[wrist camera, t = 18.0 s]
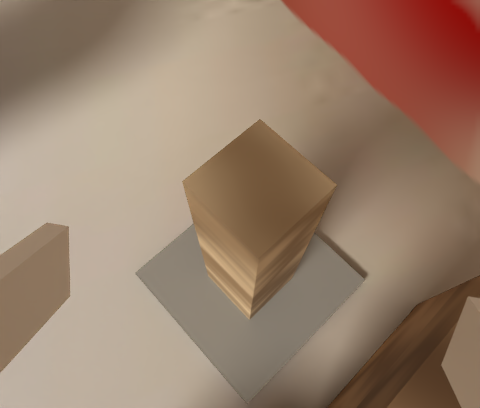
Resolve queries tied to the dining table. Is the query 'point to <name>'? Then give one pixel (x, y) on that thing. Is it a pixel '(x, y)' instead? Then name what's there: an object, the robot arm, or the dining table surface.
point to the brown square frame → (412, 358)
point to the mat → (235, 322)
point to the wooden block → (256, 214)
